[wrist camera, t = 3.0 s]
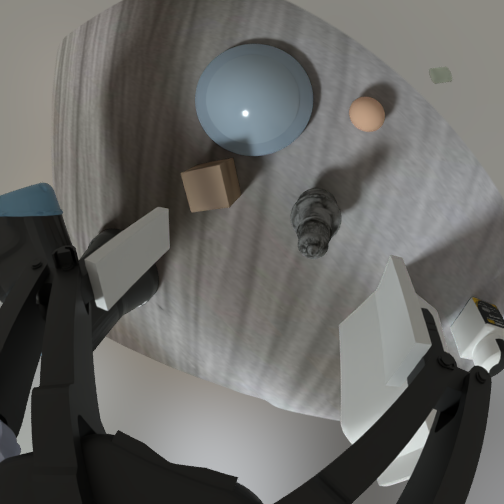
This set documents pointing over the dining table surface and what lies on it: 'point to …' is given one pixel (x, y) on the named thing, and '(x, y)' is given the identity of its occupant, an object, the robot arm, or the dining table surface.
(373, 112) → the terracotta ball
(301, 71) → the plate
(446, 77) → the pale green cup
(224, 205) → the walnut block
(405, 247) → the dining table surface
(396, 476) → the milk
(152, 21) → the dining table surface
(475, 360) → the medicine bottle
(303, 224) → the stone chess piece
